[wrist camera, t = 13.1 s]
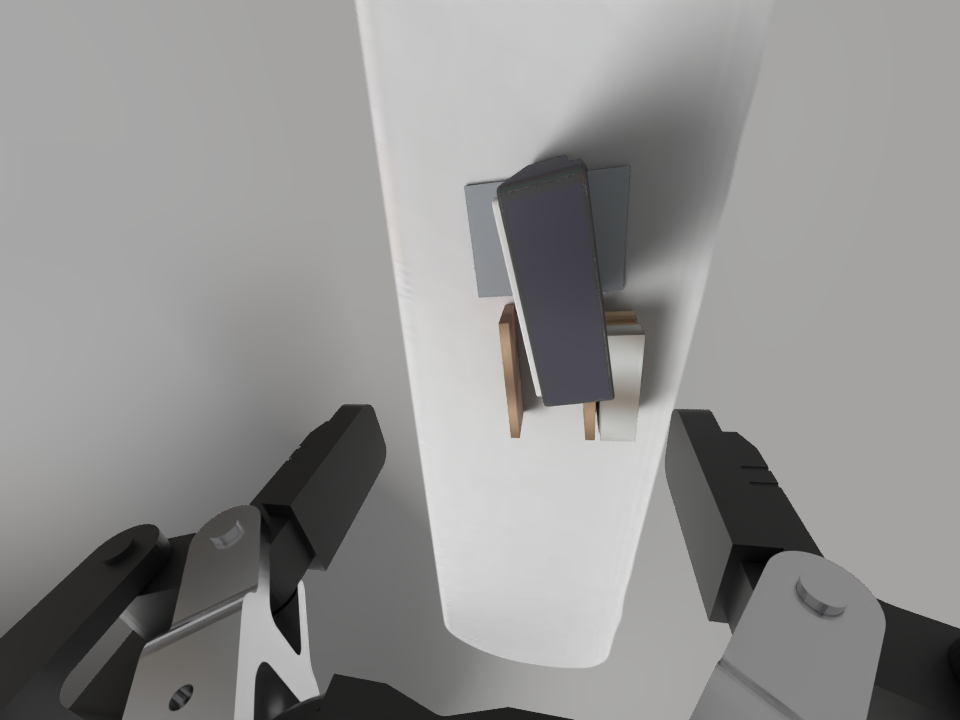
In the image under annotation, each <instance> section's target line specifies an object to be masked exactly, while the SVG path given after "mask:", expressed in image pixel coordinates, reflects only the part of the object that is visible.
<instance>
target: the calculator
mask: <svg viewBox="0 0 960 720" xmlns="http://www.w3.org/2000/svg"><path fill="white" fill-rule="evenodd" d="M492 206H493V211H494V216H495V220H496V225H497V229H498V233H499V237H500V242H501V246H502V250H503V255H504V259H505V263H506V267H507V272H508V276H509V280H510V285H511V289H512V293H513V297H514V302H515V306H516V310H517V315H518V319H519V323H520V327H521V332H522V336H523V340H524V345H525V349H526V353H527V357H528V362H529V366H530V370H531V375H532V379H533V383H534V387H535V391H536V395H537V396H542V399H543V403H544V405H545V406H559V405H569V404H579V403H589V402H599V401H608V400H613V399H614V398H615V394H614V386H613V377H612V369H611V361H610V353H609V345H608V337H607V328H606V320H605V312H604V304H603V296H602V287H601V279H600V271H599V263H598V255H597V247H596V238H595V230H594V222H593V214H592V206H591V197H590V189H589V181H588V173H587V167H586V164H585V163H584V162H583V161H582V160H581V159H577V160H572V161H568V158H567V155H563V156H559V157H556V158H552V159H549V160H545V161H542V162H538V163H535V164H531V165H528V166H526V167H525V168H523V169H522V170H521V171H519V172H518V173H516V174H515V175H513V176H512V177H511V178H509V179H508V180H506V181H505V182H504V183H502V184H501V185H499V186H498V188H497V196H496V197H495V198H494V199H493V201H492Z"/></svg>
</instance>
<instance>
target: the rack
mask: <svg viewBox="0 0 960 720" xmlns="http://www.w3.org/2000/svg"><path fill="white" fill-rule="evenodd" d="M499 332H500V341H501V350H502V359H503V368H504V377H505V386H506V395H507V404H508V414H509V423H510V432H511V438H520V432H521V425H522V418H523V402H522V390H521V379H520V367H519V355H518V344H517V332H516V321H515V309H514V305H505V307H504V310H503V313H502V316H501V319H500V321H499ZM595 407H596V402H589V403H584V426H585V440H595Z"/></svg>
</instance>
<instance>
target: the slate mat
mask: <svg viewBox="0 0 960 720" xmlns="http://www.w3.org/2000/svg"><path fill="white" fill-rule="evenodd" d="M587 173H588V181H589V189H590V197H591V206H592V214H593V222H594V230H595V238H596V247H597V255H598V263H599V271H600V279H601V287H602V291H608V290H623V281H624V264H625V247H626V230H627V212H628V195H629V178H630V166H623V167H615V168H607V169H599V170H590V171H587ZM504 182H505V181H501V182H493V183H485V184H476V185H468V186H464V189H465V196H466V204H467V212H468V219H469V227H470V234H471V242H472V249H473V257H474V264H475V272H476V280H477V287H478V295H479V297H497V296H513V293H512V289H511V285H510V280H509V276H508V272H507V267H506V263H505V259H504V255H503V250H502V246H501V242H500V237H499V233H498V229H497V225H496V220H495V216H494V211H493V206H492V201H493V199H494V198H495V197H496V196H497V188H498V186H499V185H501V184H502V183H504Z"/></svg>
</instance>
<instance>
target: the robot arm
mask: <svg viewBox="0 0 960 720" xmlns="http://www.w3.org/2000/svg"><path fill="white" fill-rule="evenodd" d="M385 458H386V445H385V442H384V438H383V435H382V432H381V429H380V426H379V423H378V420H377V417H376V414H375V411H374V409H373V407H372V406H371V405H368V404H367V405H366V404H364V405H363V404H345V405H342V406H341V407H340V408H339V409H338V411H337V412H336V413H335V414H334V416H333V417H332V418H331V419H330V420H329V421H326V422H325V423H324V424H322V425H321V426H319V427H318V428H316V429H315V430H314V431H312V432H311V433H310V434H309V435H308V436H307V437H306V438H305V440H304V441H303V442H302V443H301V444H300V445H299V449H296V450H295V451H294V452H293V454H292V455H291V456H290V457H289V461H286V462H285V463H284V464H283V465H282V467H281V468H280V469H279V470H278V471H277V472H276V474H275V475H274V476H273V477H272V478H271V479H270V481H269V482H268V483H267V484H266V485H265V486H264V488H263V489H262V490H261V491H260V492H259V494H258V495H257V496H256V497H255V498H254V500H253V501H252V502H251V503H250V504H249V505H240V506H235V507H232V508H229V509H227V510H225V511H223V512H221V513H219V514H217V515H216V516H214V517H213V518H211V519H210V520H209V521H208V522H206V523H205V524H204V525H203V526H202V527H201V528H200V529H199V530H198V532H197V533H193V534H188V535H183V536H179V537H174V538H170V539H167V538H166V537H165V536H164V535H163V533H162V532H161V531H160V530H159V529H158V528H157V527H156V526H155V525H151V524H144V525H139V526H135V527H132V528H130V529H127V530H125V531H123V532H121V533H119V534H117V535H116V536H114V537H112V538H111V539H109V540H108V541H106V542H105V543H103V544H102V545H101V546H99V547H98V548H97V549H96V550H95V551H94V552H93V553H92V554H90V555H89V556H88V557H87V558H86V559H85V560H84V561H83V562H82V563H81V564H80V565H79V566H78V567H77V568H75V569H74V570H73V571H72V572H71V573H70V574H69V575H68V576H67V577H66V578H65V579H64V580H63V581H62V582H60V583H59V584H58V585H57V586H56V587H55V588H54V589H53V590H52V591H51V592H50V593H49V594H48V595H46V596H45V597H44V598H43V599H42V600H41V601H40V602H39V603H38V604H37V605H36V606H35V607H34V608H33V609H32V610H30V611H29V612H28V613H27V614H26V615H25V616H24V617H23V618H22V619H21V620H20V621H19V622H18V623H16V624H15V625H14V626H13V627H12V628H11V629H10V630H9V631H8V632H7V633H6V634H5V635H4V636H3V637H2V638H0V720H573V719H568V718H562V717H557V716H552V715H547V714H542V713H536V712H531V711H526V710H521V709H516V708H510V707H506V708H499V709H492V710H486V711H480V712H472V713H465V714H458V715H452V716H440V715H437V714H435V713H433V712H432V711H430V710H428V709H427V708H425V707H423V706H422V705H420V704H419V703H417V702H415V701H414V700H412V699H411V698H409V697H407V696H406V695H404V694H402V693H401V692H399V691H398V690H396V689H394V688H392V687H391V686H389V685H388V684H385V683H379V682H374V681H369V680H364V679H359V678H354V677H348V676H343V675H338V674H334V675H333V678H332V680H331V683H330V685H329V687H328V689H327V692H326V693H324V694H321V695H320V694H319V690H318V686H317V683H316V680H315V678H314V675H313V672H312V668H311V663H310V655H309V642H308V628H307V616H306V602H305V589H304V584H303V582H302V581H301V579H302V577H303V576H304V574H305V572H306V570H307V569H312V570H320V571H326V570H327V568H328V566H329V564H330V563H331V561H332V559H333V557H334V555H335V553H336V551H337V550H338V548H339V546H340V544H341V542H342V541H343V539H344V537H345V535H346V533H347V531H348V529H349V528H350V526H351V524H352V522H353V520H354V519H355V517H356V515H357V513H358V511H359V509H360V508H361V506H362V504H363V502H364V500H365V498H366V497H367V495H368V493H369V491H370V489H371V487H372V486H373V484H374V482H375V480H376V478H377V477H378V474H379V473H380V471H381V469H382V467H383V465H384V463H385ZM665 471H666V478H667V482H668V486H669V489H670V492H671V496H672V499H673V502H674V506H675V509H676V512H677V516H678V519H679V523H680V526H681V529H682V533H683V536H684V539H685V543H686V546H687V549H688V553H689V556H690V559H691V563H692V566H693V569H694V573H695V576H696V579H697V583H698V586H699V590H700V593H701V596H702V600H703V603H704V607H705V610H706V613H707V617H708V620H709V621H714V622H722V623H729V626H730V629H731V632H732V637H731V639H730V642H729V644H728V646H727V648H726V650H725V652H724V654H723V656H722V658H721V660H720V661H719V662H718V663H717V665H716V666H715V668H714V671H713V672H712V674H711V677H710V678H709V680H708V682H707V684H706V686H705V689H704V691H703V693H702V695H701V697H700V699H699V701H698V703H697V705H696V707H695V709H694V711H693V714H692V716H691V718H690V720H960V629H959V628H956V627H953V626H951V625H948V624H945V623H942V622H939V621H936V620H933V619H930V618H927V617H924V616H921V615H919V614H915V613H913V612H910V611H907V610H904V609H901V608H898V607H895V606H893V605H890V604H888V603H885V602H883V601H881V600H879V599H877V598H875V596H874V595H873V594H872V593H871V591H870V590H869V589H868V588H867V587H866V586H865V585H864V584H863V583H862V582H861V581H860V580H859V579H858V578H856V577H855V576H854V575H853V574H851V573H850V572H848V571H847V570H845V569H844V568H843V567H841V566H839V565H837V564H836V563H834V562H832V561H830V560H827V559H825V558H824V556H823V555H822V553H821V552H820V550H819V549H818V547H817V546H816V544H815V542H814V541H813V539H812V537H811V536H810V534H809V532H808V531H807V529H806V528H805V526H804V524H803V523H802V521H801V519H800V518H799V516H798V515H797V513H796V511H795V510H794V508H793V507H792V505H791V503H790V501H789V500H788V498H787V497H786V495H785V493H784V492H783V490H782V489H781V488H780V487H779V486H778V482H777V480H776V479H775V477H774V475H773V474H772V472H771V471H769V470H768V466H767V464H766V462H765V461H764V459H763V458H762V456H761V454H760V453H759V451H758V450H757V448H756V447H755V446H753V445H752V444H751V443H750V442H748V441H747V440H746V439H745V438H743V437H742V436H741V435H739V434H738V433H737V432H722V430H721V429H720V427H719V425H718V423H717V421H716V419H715V418H714V415H713V414H712V412H711V411H710V410H700V409H698V410H697V409H696V410H695V409H674V410H673V412H672V415H671V422H670V428H669V435H668V442H667V449H666V455H665ZM118 617H120V618H121V619H122V620H123V621H124V622H126V623H127V624H128V625H129V626H130V627H131V628H132V629H133V631H132V632H131V634H130V635H129V636H128V637H127V638H126V640H125V641H124V642H123V643H122V645H121V646H120V647H119V648H118V649H117V651H116V652H115V653H114V654H113V656H112V657H111V658H110V659H109V660H108V662H107V663H106V664H105V665H104V666H103V668H102V669H101V670H100V671H99V673H98V674H97V675H96V676H95V677H94V679H93V680H92V681H91V683H90V684H89V685H88V686H87V687H86V688H85V690H84V691H83V692H82V693H81V695H80V696H79V697H78V698H77V699H76V701H75V702H74V703H73V704H72V706H71V707H70V708H69V709H67V708H65V707H64V706H63V705H62V704H61V703H60V698H59V697H60V690H61V688H62V685H63V683H64V681H65V679H66V678H67V676H68V675H69V673H70V672H71V671H72V670H73V669H74V668H75V667H76V665H77V664H78V663H79V662H80V661H81V660H82V659H83V657H84V656H85V655H86V654H87V653H88V652H89V650H90V649H91V648H92V647H93V646H94V645H95V644H96V642H97V641H98V640H99V639H100V638H101V637H102V636H103V634H104V633H105V632H106V631H107V630H108V629H109V628H110V626H111V625H112V624H113V623H114V622H115V621H116V619H117V618H118Z"/></svg>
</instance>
